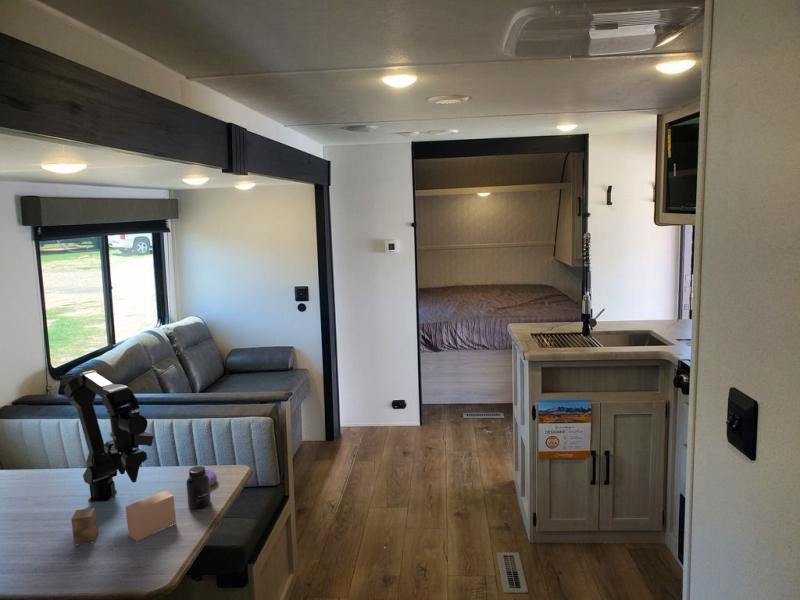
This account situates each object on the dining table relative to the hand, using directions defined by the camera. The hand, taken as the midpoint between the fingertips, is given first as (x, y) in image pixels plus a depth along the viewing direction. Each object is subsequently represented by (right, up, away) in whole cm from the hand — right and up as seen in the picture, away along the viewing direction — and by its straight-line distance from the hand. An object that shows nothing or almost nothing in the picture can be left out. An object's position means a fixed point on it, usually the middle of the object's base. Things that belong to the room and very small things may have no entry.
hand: (128, 477), depth 187 cm
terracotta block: (+10, -13, -7) cm, 18 cm away
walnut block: (-7, -14, -11) cm, 19 cm away
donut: (+16, -9, +21) cm, 27 cm away
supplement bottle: (+19, -11, +7) cm, 23 cm away
